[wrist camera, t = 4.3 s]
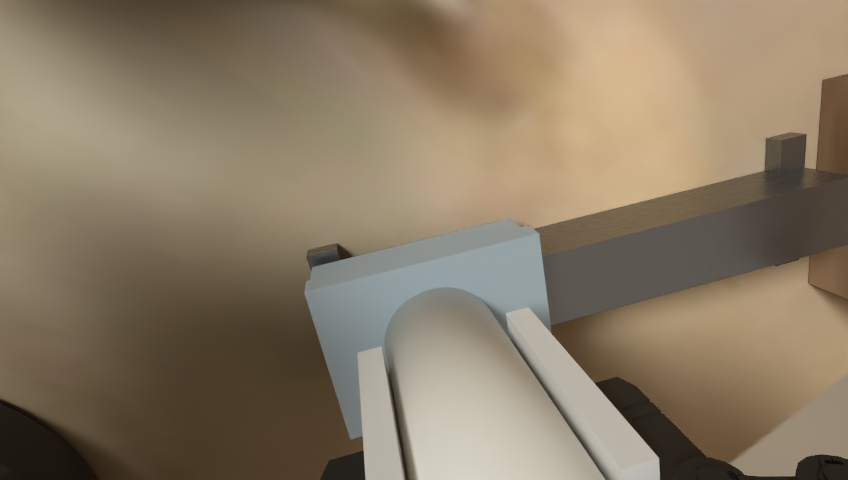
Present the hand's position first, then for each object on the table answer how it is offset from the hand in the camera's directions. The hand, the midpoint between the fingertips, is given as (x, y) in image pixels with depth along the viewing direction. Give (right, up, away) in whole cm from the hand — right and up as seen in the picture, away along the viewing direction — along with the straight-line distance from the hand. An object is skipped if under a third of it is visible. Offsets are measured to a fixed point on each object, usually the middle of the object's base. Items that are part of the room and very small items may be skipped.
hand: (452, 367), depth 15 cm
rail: (+6, +3, +6) cm, 9 cm away
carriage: (-1, +1, +5) cm, 5 cm away
